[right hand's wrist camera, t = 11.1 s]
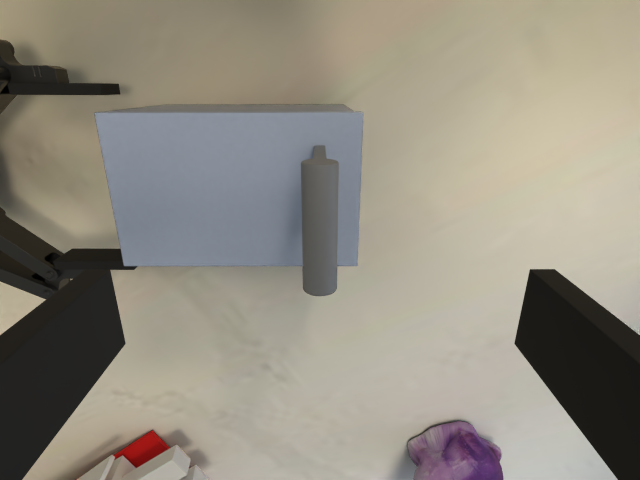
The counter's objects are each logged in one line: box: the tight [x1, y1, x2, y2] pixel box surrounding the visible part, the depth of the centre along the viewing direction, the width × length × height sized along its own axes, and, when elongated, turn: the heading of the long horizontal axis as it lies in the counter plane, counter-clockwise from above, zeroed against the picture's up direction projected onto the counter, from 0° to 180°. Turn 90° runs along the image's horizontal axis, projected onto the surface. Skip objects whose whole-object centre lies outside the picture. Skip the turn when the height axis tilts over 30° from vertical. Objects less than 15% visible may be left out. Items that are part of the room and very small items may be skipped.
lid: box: [94, 112, 363, 296], centre depth 23 cm, size 16×10×8 cm, turn 90°
